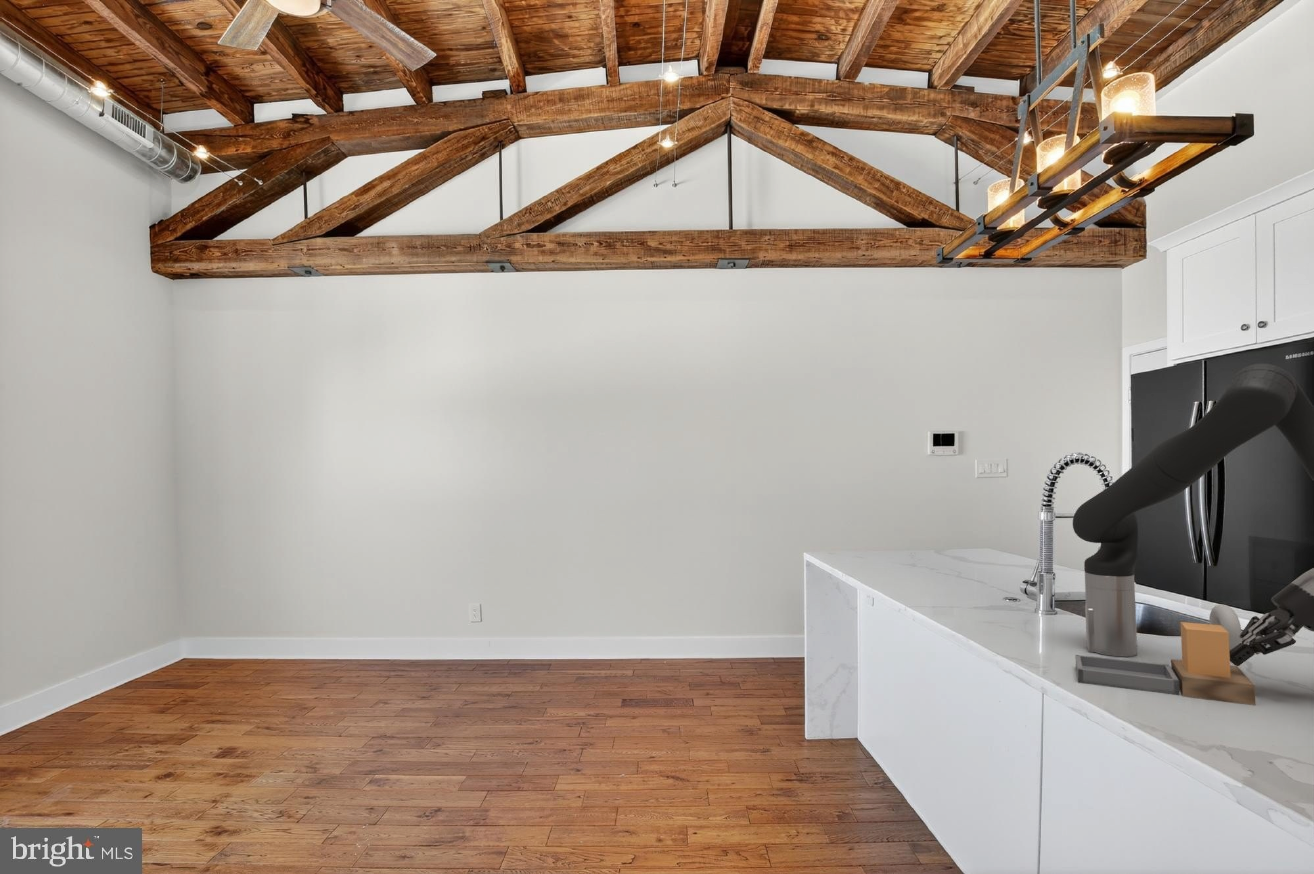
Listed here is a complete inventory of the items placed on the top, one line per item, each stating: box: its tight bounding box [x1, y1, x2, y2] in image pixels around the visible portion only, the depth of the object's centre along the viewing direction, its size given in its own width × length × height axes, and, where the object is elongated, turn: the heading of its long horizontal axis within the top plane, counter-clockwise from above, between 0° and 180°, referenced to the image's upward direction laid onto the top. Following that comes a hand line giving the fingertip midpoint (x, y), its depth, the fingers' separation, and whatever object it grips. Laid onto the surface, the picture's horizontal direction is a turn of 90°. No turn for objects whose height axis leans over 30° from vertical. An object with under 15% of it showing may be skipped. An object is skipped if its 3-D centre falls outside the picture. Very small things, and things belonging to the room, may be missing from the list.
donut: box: [1208, 603, 1242, 651], centre depth 150 cm, size 10×4×10 cm, turn 158°
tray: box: [1074, 654, 1181, 696], centre depth 131 cm, size 16×11×2 cm
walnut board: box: [1170, 658, 1256, 706], centre depth 125 cm, size 10×12×4 cm
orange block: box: [1180, 621, 1231, 678], centre depth 125 cm, size 6×6×8 cm
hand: (1230, 661), depth 123 cm, fingers closed
